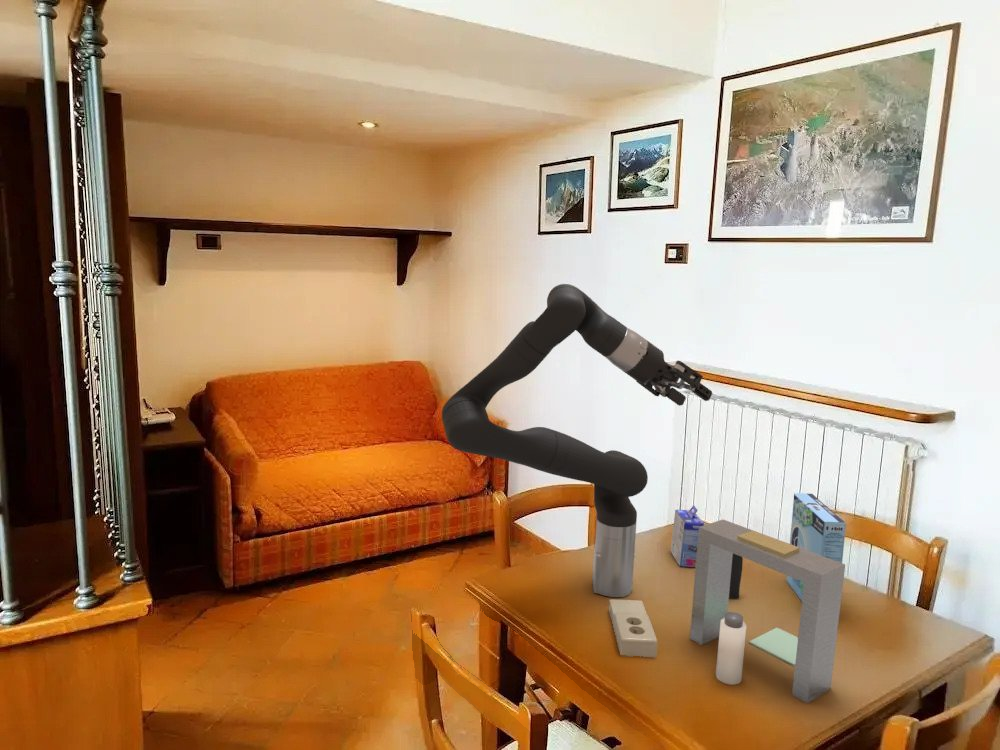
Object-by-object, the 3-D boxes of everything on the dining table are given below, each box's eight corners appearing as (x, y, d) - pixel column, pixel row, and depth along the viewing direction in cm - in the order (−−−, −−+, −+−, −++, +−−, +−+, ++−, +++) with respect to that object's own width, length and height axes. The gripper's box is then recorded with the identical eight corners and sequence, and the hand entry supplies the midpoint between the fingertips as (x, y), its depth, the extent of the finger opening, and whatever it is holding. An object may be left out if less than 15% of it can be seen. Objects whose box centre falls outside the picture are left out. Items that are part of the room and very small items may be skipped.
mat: (794, 666, 137) (794, 664, 137) (749, 643, 145) (749, 641, 145) (821, 650, 143) (821, 648, 143) (776, 629, 151) (776, 627, 151)
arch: (807, 703, 126) (822, 572, 122) (689, 638, 146) (699, 524, 142) (830, 688, 130) (845, 561, 126) (713, 627, 151) (723, 516, 147)
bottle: (719, 683, 131) (724, 621, 129) (713, 669, 135) (718, 609, 133) (744, 685, 131) (750, 623, 129) (737, 671, 135) (743, 610, 133)
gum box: (836, 621, 155) (848, 523, 152) (812, 619, 156) (823, 521, 152) (805, 581, 174) (814, 493, 171) (784, 580, 175) (793, 492, 171)
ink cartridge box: (701, 568, 180) (705, 514, 178) (679, 567, 180) (683, 514, 178) (690, 552, 190) (694, 501, 188) (670, 551, 190) (674, 500, 188)
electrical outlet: (642, 596, 156) (658, 640, 138) (641, 613, 157) (656, 659, 139) (609, 595, 156) (621, 638, 139) (608, 612, 157) (620, 657, 139)
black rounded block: (735, 591, 168) (739, 546, 166) (740, 599, 164) (744, 553, 162) (706, 590, 168) (709, 545, 166) (710, 598, 164) (713, 551, 162)
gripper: (607, 376, 141) (668, 418, 144) (645, 364, 128) (711, 411, 131) (622, 345, 143) (682, 388, 147) (661, 331, 130) (726, 378, 134)
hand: (696, 399), depth 139 cm, fingers open, 8 cm apart
